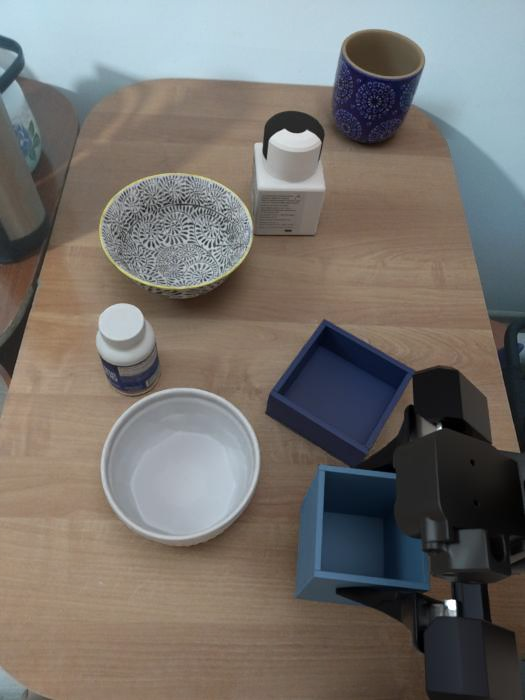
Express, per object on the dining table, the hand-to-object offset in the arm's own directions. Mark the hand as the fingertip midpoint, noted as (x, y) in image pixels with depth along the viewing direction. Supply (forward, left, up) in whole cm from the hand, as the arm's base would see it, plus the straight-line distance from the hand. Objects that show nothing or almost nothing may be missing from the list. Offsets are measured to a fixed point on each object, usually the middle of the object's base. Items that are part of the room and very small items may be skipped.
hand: (340, 534), depth 38 cm
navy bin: (+3, -16, -13) cm, 21 cm away
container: (+18, -38, -13) cm, 44 cm away
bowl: (+25, -24, -13) cm, 37 cm away
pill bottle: (+23, -10, -13) cm, 29 cm away
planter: (+14, -59, -13) cm, 62 cm away
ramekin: (+13, -2, -13) cm, 19 cm away
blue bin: (-1, 0, -6) cm, 7 cm away
